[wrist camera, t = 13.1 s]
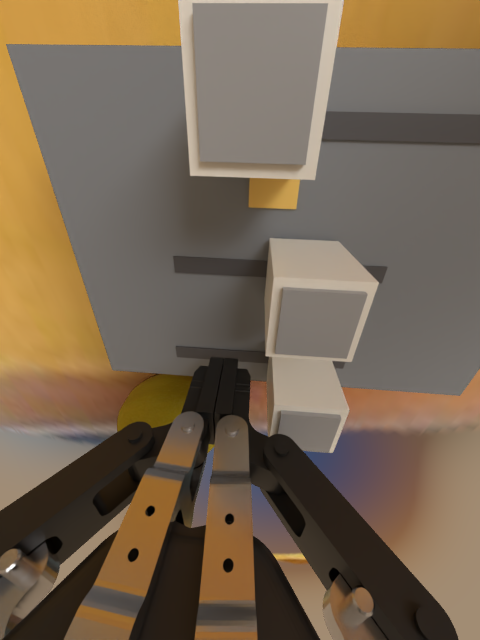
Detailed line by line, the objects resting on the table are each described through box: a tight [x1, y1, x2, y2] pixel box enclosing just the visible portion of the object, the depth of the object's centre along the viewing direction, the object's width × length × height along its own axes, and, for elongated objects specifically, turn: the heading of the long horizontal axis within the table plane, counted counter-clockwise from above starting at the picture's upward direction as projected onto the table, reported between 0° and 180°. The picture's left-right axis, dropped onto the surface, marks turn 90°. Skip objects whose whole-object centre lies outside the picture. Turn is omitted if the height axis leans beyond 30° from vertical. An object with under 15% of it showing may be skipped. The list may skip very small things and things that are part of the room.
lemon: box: [117, 374, 215, 452], centre depth 22 cm, size 11×8×8 cm
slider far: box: [267, 357, 350, 453], centre depth 13 cm, size 3×3×5 cm
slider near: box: [178, 0, 344, 180], centre depth 7 cm, size 3×3×5 cm
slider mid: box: [264, 238, 379, 362], centre depth 10 cm, size 3×3×5 cm
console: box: [6, 44, 480, 396], centre depth 15 cm, size 22×16×6 cm
